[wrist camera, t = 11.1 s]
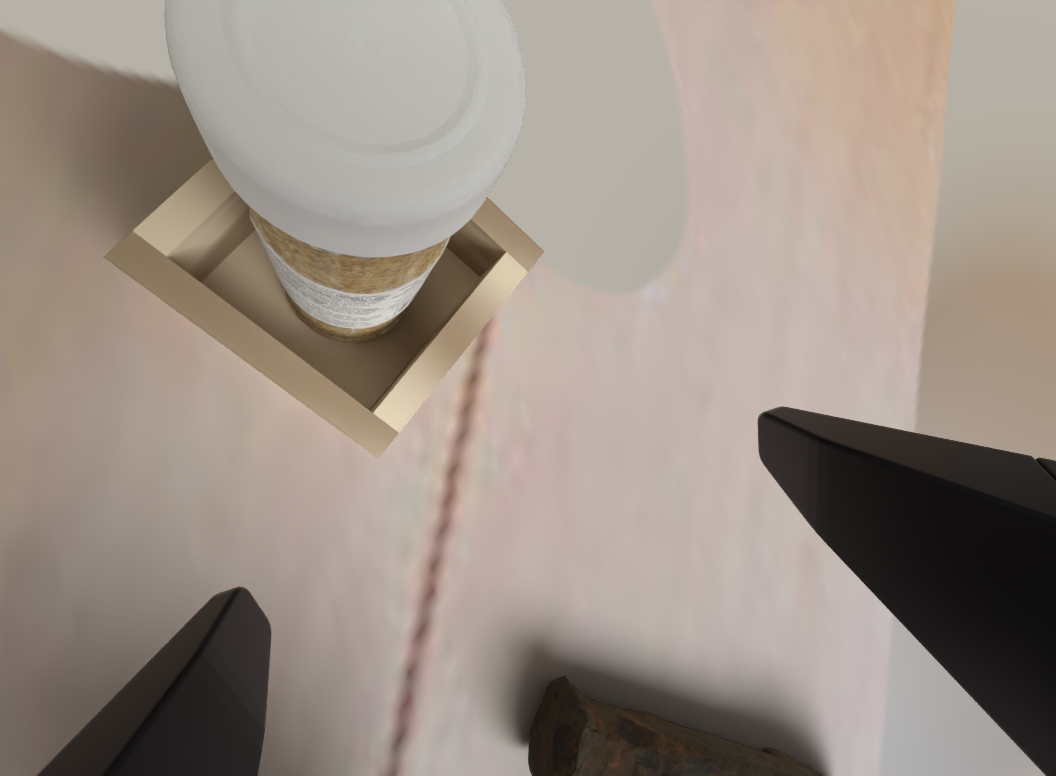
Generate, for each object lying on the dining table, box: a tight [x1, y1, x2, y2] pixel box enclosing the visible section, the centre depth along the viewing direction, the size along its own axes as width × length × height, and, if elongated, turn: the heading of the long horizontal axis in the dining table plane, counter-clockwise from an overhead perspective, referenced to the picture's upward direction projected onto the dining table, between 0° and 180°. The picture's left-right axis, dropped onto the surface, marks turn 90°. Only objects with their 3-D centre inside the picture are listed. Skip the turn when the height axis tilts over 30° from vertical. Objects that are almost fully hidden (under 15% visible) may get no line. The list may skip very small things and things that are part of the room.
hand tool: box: [528, 676, 822, 776], centre depth 23 cm, size 19×4×5 cm, turn 64°
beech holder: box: [104, 158, 544, 458], centre depth 18 cm, size 9×9×4 cm
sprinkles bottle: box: [165, 0, 526, 343], centre depth 13 cm, size 5×5×13 cm
